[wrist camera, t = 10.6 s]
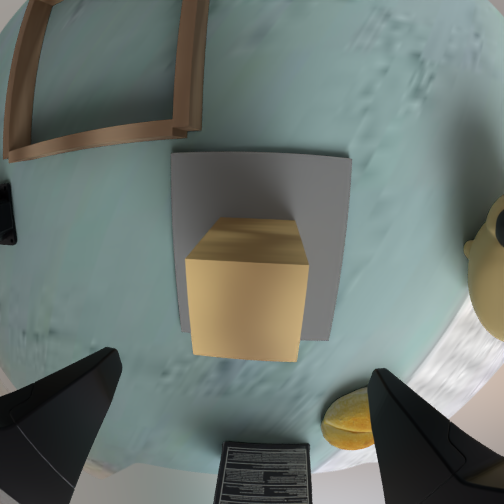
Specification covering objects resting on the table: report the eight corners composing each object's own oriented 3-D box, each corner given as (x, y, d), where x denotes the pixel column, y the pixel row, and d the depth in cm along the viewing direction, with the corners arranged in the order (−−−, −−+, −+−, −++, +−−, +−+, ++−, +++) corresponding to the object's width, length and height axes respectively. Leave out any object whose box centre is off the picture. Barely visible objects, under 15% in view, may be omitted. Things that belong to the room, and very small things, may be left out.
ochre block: (220, 284, 21) (193, 354, 13) (220, 217, 19) (185, 258, 11) (289, 288, 20) (296, 361, 13) (295, 220, 19) (309, 265, 11)
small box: (225, 462, 30) (214, 525, 20) (222, 439, 28) (208, 512, 18) (303, 465, 30) (305, 528, 20) (310, 442, 27) (315, 516, 18)
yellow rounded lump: (408, 381, 24) (420, 407, 20) (374, 431, 27) (380, 455, 23) (337, 380, 24) (344, 411, 20) (311, 431, 27) (313, 459, 23)
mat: (183, 328, 23) (181, 331, 22) (173, 152, 18) (170, 152, 18) (327, 337, 22) (328, 340, 22) (350, 158, 17) (352, 158, 17)
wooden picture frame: (25, 161, 19) (3, 164, 16) (48, 2, 13) (31, -5, 10) (201, 137, 18) (188, 134, 15) (215, -51, 12) (208, -71, 9)
